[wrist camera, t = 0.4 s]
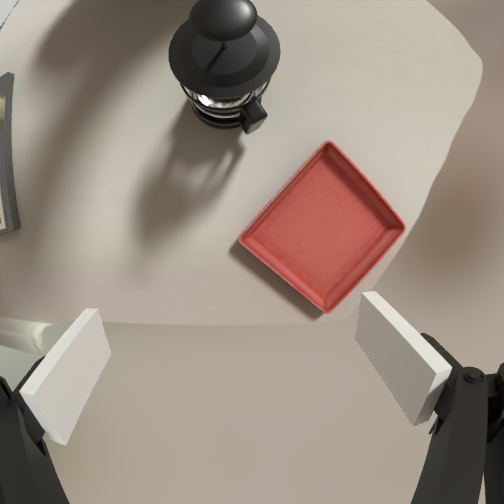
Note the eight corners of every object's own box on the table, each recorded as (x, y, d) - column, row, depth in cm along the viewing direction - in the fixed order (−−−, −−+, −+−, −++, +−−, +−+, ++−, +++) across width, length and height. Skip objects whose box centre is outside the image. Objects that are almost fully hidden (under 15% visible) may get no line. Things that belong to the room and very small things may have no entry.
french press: (176, 85, 34) (120, 2, 12) (235, 51, 33) (243, -54, 11) (221, 152, 37) (208, 129, 15) (280, 117, 36) (344, 60, 14)
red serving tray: (322, 307, 45) (328, 317, 42) (234, 234, 41) (235, 240, 37) (397, 223, 42) (408, 227, 39) (320, 139, 38) (328, 136, 34)
